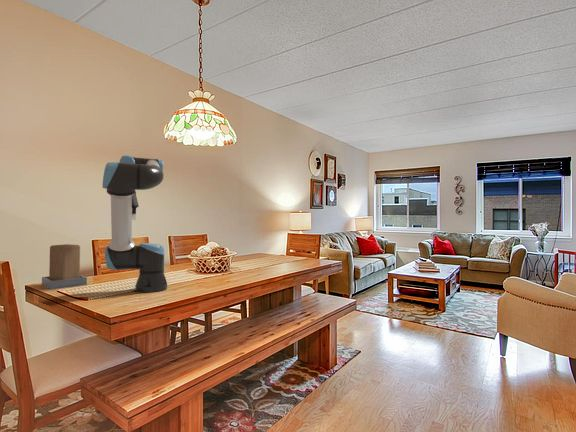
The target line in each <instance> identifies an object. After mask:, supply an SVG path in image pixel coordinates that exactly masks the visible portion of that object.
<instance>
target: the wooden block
mask: <svg viewBox="0 0 576 432" xmlns="http://www.w3.org/2000/svg"><path fill="white" fill-rule="evenodd" d="M48 267H49V269H48V270H49V271H48V272H49V275H48V276H49V279H50V280H52V281H56V280H65V279H74V278H79V277H80V275H81V273H80V272H81V270H80V268H81V245H79V244H68V243H67V244H54V245H53V244H52V245H50V246H49V265H48Z"/></svg>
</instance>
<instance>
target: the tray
mask: <svg viewBox="0 0 576 432" xmlns="http://www.w3.org/2000/svg"><path fill="white" fill-rule="evenodd" d="M87 281H88V277H87V276H84V275H82V274H80V277H79V278H74V279H65V280H56V281H52V280H50V279H49V275H48V276H42V277H41V286H43V287H45V288H47V289H49V290H50V291H51V290H56V289H64V288H73V287H80V286H81V287H82V286H86V285H88V284H87V283H88V282H87Z"/></svg>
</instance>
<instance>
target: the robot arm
mask: <svg viewBox="0 0 576 432" xmlns="http://www.w3.org/2000/svg"><path fill="white" fill-rule="evenodd" d="M163 170H164V161H163V159H158V158H146V157H145V158H144V157H135V156H133V155H122V156H121V157H120V159H119V161H117V162H116V161H115V162H114V161H113V162H111V161H110V162H109V161H108V162H107V163H106V164H105V167H104V172H103V176H102V183H101V184H102V189H105V190H106V193H107V194H108V195H109V196H110V216H111V218H110V223H111V225H110V226H111V227H110V228H111V230H110V231H111V240H110V241H109V242H108V245H107V246H105V248H104V261H105V265H106V268H107V269H108V270H110V271H120V270H121V271H123V270H125V271H126V270H139V273H138V278H137V280H136V283H135V286H134V290H135V292H140V293H154V292H155V293H156V292H161V291H165V290H167V289H168V281H167V279H166V275H165V247H164V245H162V244H157V243H150V242H140V243H139V245H136V243H135V241H134V240H132V238H133V237H132V234H133V233H132V232H133V230H132V227H133V225H132V221H136V220H137V208H139V202H138V201H139V200H138V198H137V191H143V190H144V191H146V190H151V189H153V188H154V189H155V187H158V186H159V185H161V184H162V182H163V180H164V171H163ZM136 190H137V191H136Z"/></svg>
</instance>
